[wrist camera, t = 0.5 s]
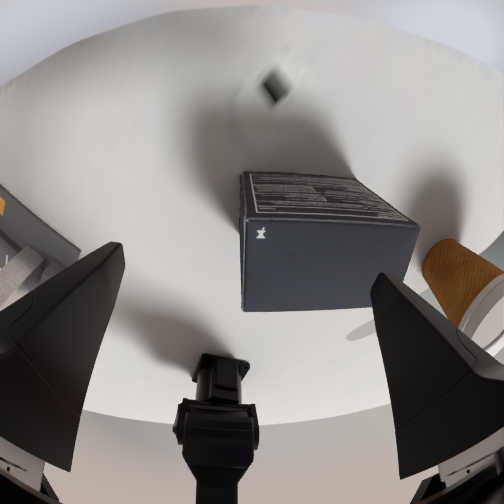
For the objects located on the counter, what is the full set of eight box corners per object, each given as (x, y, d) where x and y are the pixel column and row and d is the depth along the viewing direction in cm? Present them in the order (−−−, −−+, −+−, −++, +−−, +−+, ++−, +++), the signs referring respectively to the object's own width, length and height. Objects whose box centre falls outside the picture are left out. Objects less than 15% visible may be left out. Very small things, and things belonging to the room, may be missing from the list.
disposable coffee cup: (418, 305, 31) (462, 371, 20) (403, 253, 27) (465, 325, 16) (469, 268, 28) (520, 322, 18) (462, 212, 24) (531, 263, 14)
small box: (238, 240, 25) (237, 318, 16) (239, 170, 22) (239, 213, 13) (347, 242, 26) (394, 311, 16) (358, 177, 23) (424, 222, 13)
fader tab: (45, 258, 24) (-4, 312, 16) (40, 280, 26) (-2, 333, 17) (28, 244, 23) (-23, 293, 15) (24, 267, 25) (-20, 316, 16)
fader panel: (81, 250, 25) (66, 267, 22) (60, 313, 29) (49, 330, 26) (-21, 164, 18) (-39, 172, 15) (-29, 235, 23) (-43, 245, 20)
